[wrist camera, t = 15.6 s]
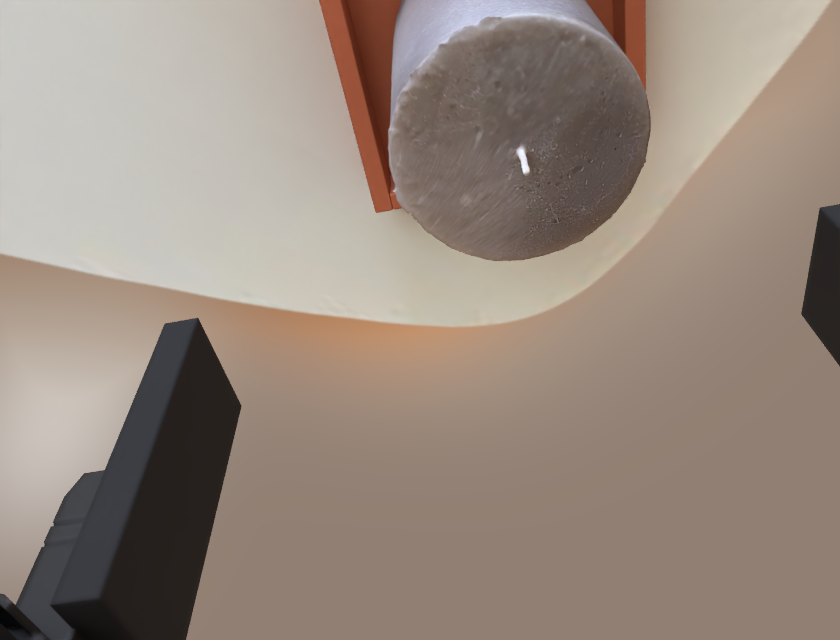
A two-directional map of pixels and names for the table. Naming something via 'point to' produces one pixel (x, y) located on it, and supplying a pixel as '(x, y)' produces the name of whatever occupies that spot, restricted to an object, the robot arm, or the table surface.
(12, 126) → the table surface
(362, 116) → the holder
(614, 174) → the pillar candle
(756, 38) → the table surface
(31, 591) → the robot arm
